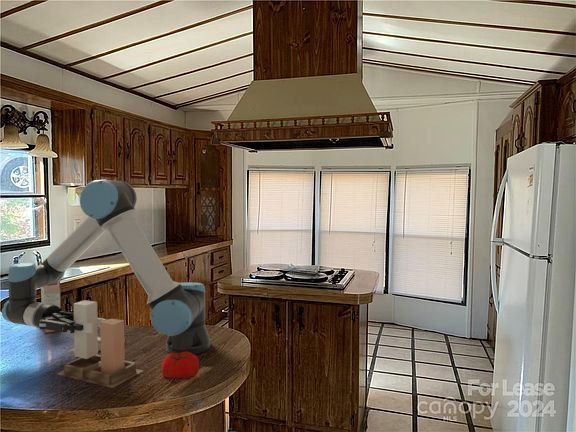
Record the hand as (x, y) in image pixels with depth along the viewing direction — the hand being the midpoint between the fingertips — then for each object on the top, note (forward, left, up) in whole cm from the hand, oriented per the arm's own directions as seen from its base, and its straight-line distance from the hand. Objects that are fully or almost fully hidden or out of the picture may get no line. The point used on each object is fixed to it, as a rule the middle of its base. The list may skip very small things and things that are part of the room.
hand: (99, 326), depth 123 cm
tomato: (-23, -4, -16) cm, 28 cm away
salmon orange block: (-5, +1, -14) cm, 15 cm away
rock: (+15, -19, -16) cm, 29 cm away
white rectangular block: (+5, -1, -10) cm, 11 cm away
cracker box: (+45, -38, -16) cm, 61 cm away
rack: (0, 0, -15) cm, 15 cm away
